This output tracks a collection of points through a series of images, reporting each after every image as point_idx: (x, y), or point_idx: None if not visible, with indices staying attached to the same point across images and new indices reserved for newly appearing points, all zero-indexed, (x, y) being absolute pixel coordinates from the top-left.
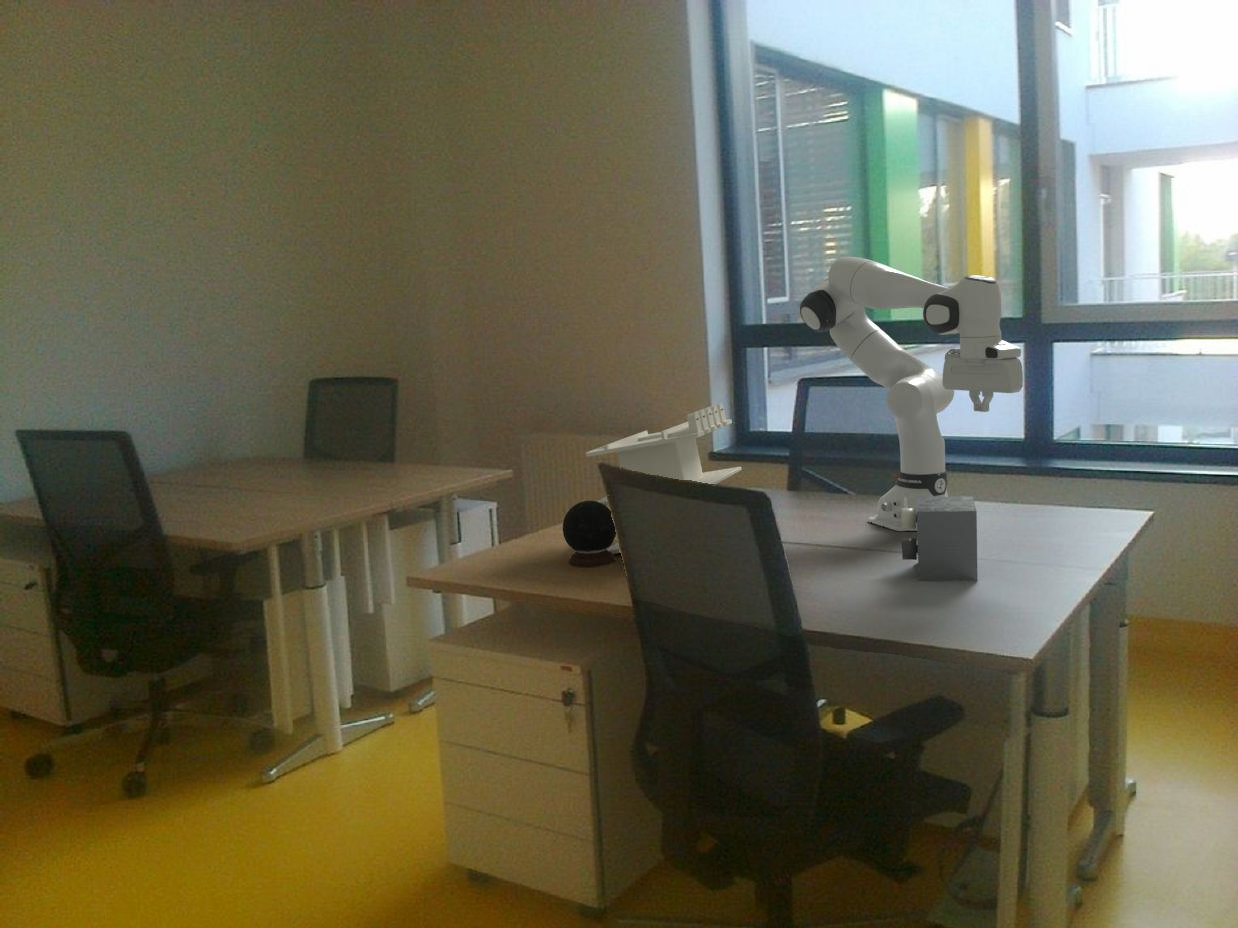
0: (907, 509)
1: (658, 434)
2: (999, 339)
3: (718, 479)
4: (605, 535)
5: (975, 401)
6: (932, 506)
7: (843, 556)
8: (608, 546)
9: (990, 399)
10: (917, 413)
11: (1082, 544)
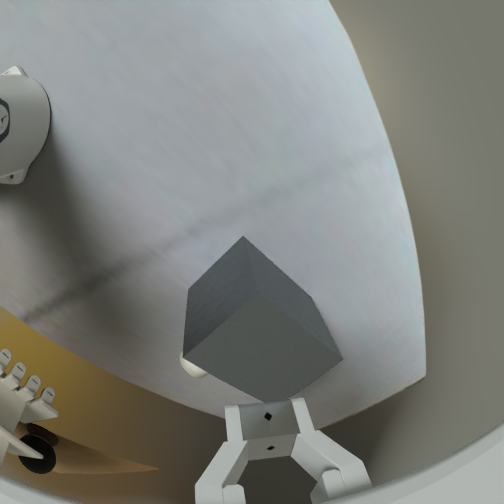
0: (203, 373)
1: None
2: None
3: (12, 438)
4: (52, 455)
5: (242, 469)
6: (266, 381)
7: (104, 328)
8: (46, 442)
9: (339, 452)
10: None
11: (287, 29)
